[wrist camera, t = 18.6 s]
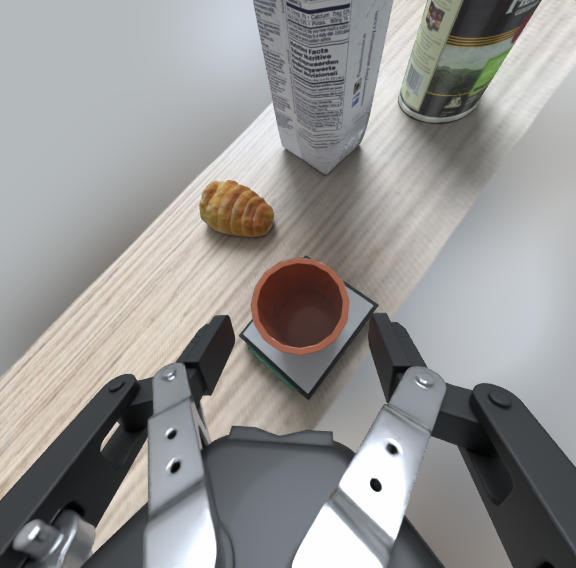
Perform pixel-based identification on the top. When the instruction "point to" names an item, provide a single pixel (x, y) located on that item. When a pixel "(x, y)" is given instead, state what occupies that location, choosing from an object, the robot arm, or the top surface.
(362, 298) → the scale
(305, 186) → the top surface
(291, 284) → the terracotta flower pot
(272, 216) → the pastry
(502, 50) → the coffee can
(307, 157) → the juice carton
